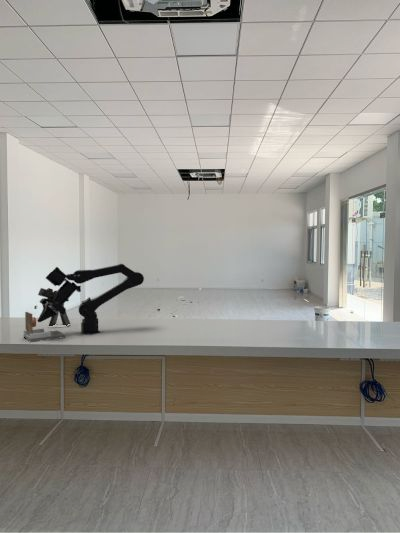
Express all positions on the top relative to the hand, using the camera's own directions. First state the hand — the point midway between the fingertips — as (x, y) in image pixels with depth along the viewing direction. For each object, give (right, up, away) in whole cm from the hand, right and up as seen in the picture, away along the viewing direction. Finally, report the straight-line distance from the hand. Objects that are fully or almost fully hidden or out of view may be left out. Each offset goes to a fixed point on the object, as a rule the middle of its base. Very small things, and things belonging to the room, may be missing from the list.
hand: (38, 321), depth 166 cm
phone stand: (0, -6, +26) cm, 27 cm away
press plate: (-2, -4, -1) cm, 4 cm away
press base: (+2, -7, +2) cm, 7 cm away
